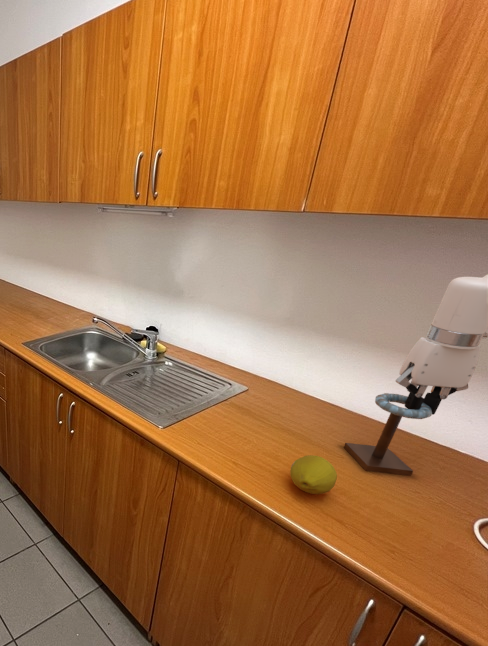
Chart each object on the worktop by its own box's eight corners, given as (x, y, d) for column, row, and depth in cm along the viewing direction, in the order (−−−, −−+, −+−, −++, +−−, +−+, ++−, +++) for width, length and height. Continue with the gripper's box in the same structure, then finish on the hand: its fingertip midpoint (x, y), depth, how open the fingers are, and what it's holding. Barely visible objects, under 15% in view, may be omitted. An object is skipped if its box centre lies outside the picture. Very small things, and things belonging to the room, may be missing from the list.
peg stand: (384, 451, 100) (407, 402, 94) (410, 476, 92) (437, 423, 86) (343, 447, 102) (363, 399, 96) (365, 470, 94) (388, 419, 88)
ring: (410, 401, 94) (413, 393, 93) (441, 422, 86) (445, 414, 85) (364, 397, 96) (367, 390, 95) (391, 418, 88) (394, 410, 87)
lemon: (300, 470, 94) (310, 443, 91) (339, 491, 88) (351, 462, 85) (274, 486, 90) (284, 457, 87) (313, 509, 83) (325, 480, 80)
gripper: (484, 332, 85) (447, 405, 92) (395, 328, 88) (366, 399, 95) (518, 345, 78) (476, 423, 85) (421, 340, 82) (388, 415, 89)
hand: (419, 410), depth 90 cm, fingers closed on ring, 2 cm apart
